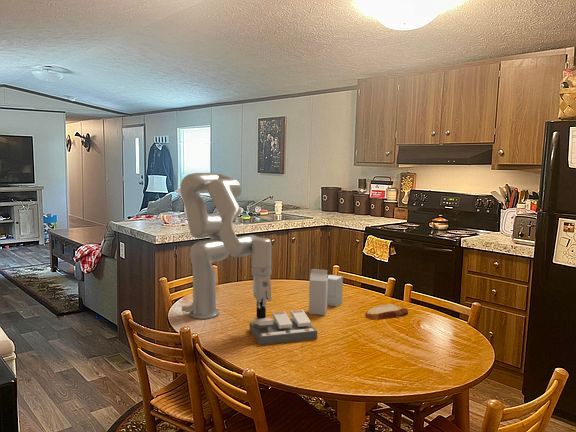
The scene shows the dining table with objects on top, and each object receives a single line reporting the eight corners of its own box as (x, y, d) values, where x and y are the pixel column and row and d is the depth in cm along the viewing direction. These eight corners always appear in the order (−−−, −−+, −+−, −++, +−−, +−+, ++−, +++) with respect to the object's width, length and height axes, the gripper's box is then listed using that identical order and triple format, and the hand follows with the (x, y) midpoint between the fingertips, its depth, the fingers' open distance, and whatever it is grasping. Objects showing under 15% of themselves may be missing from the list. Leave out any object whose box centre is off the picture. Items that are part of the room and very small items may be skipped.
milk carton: (325, 315, 208) (326, 272, 206) (308, 314, 210) (309, 271, 207) (327, 310, 215) (328, 268, 213) (311, 309, 217) (312, 267, 214)
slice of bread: (364, 319, 205) (364, 311, 204) (367, 307, 222) (367, 299, 222) (408, 323, 201) (408, 315, 200) (408, 310, 218) (408, 302, 218)
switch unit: (260, 345, 175) (260, 333, 174) (249, 329, 190) (249, 319, 189) (317, 338, 181) (317, 327, 181) (302, 324, 196) (302, 314, 196)
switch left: (260, 325, 178) (259, 321, 178) (253, 322, 187) (253, 317, 187) (273, 324, 179) (273, 319, 180) (265, 321, 189) (265, 316, 189)
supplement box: (342, 303, 227) (343, 276, 225) (335, 307, 220) (336, 279, 219) (328, 300, 230) (329, 274, 229) (321, 304, 224) (321, 277, 223)
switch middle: (279, 328, 181) (279, 324, 180) (271, 315, 190) (272, 311, 189) (292, 327, 182) (292, 323, 182) (284, 314, 191) (284, 310, 191)
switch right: (298, 326, 183) (298, 323, 183) (290, 313, 192) (290, 309, 192) (310, 325, 185) (311, 321, 184) (302, 312, 194) (302, 308, 193)
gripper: (276, 274, 178) (276, 322, 181) (265, 265, 193) (265, 310, 195) (256, 276, 176) (256, 324, 178) (247, 267, 190) (246, 312, 192)
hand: (261, 317), depth 187 cm, fingers closed
